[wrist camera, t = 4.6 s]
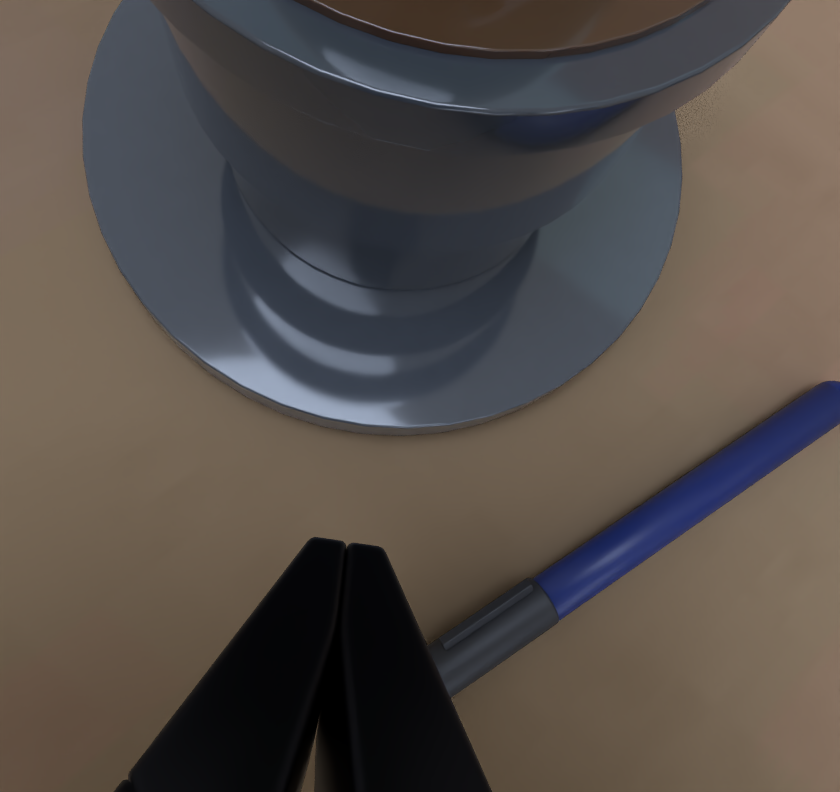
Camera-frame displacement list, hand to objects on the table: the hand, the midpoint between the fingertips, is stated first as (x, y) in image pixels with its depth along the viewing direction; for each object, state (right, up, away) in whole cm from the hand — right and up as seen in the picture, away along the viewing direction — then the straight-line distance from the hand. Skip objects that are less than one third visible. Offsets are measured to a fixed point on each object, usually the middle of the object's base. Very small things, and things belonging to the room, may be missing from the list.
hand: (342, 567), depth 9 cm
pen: (+6, -2, +10) cm, 12 cm away
